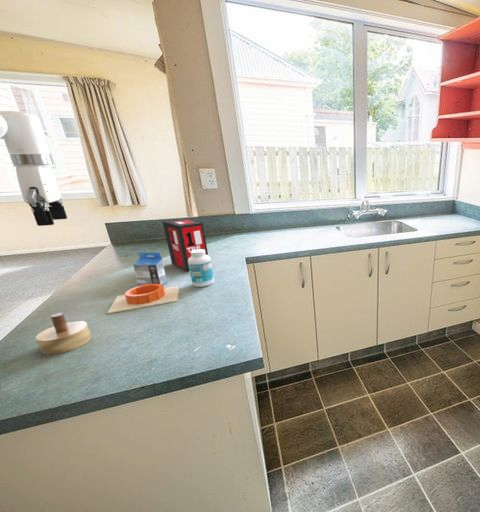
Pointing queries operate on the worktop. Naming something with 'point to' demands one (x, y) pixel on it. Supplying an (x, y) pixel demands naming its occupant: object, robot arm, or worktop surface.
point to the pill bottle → (200, 268)
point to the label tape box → (150, 269)
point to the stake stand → (63, 335)
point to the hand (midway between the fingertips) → (53, 222)
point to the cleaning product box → (184, 240)
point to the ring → (145, 294)
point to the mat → (122, 305)
